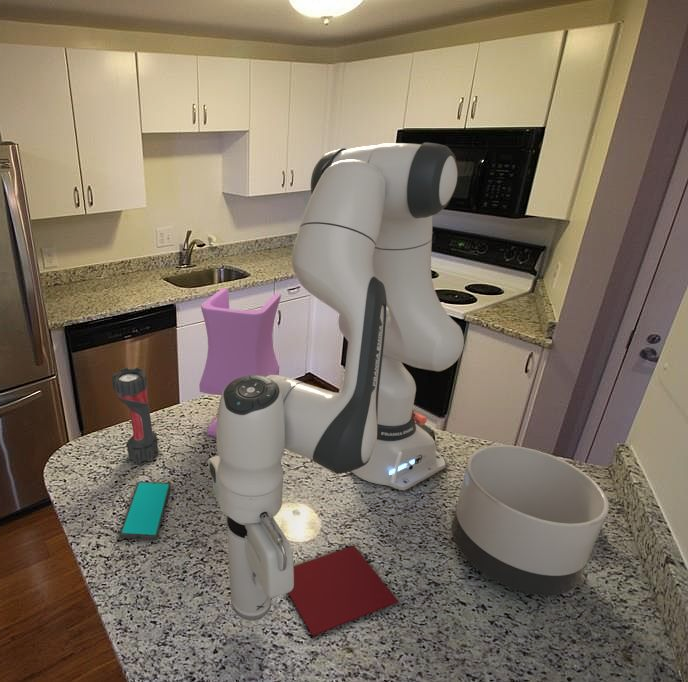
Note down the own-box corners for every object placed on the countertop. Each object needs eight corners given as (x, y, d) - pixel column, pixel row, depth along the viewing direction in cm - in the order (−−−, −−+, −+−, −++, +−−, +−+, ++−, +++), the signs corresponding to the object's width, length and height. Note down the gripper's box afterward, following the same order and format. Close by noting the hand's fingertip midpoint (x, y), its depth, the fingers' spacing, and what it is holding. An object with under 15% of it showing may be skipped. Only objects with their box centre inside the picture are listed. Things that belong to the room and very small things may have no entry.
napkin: (353, 547, 86) (354, 545, 86) (398, 602, 76) (398, 600, 76) (276, 573, 82) (276, 571, 82) (312, 636, 71) (312, 634, 71)
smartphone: (119, 534, 90) (138, 481, 103) (120, 537, 90) (138, 484, 104) (157, 537, 89) (170, 483, 102) (157, 540, 89) (171, 486, 103)
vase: (277, 416, 127) (281, 294, 113) (259, 449, 114) (261, 315, 100) (224, 405, 133) (222, 287, 119) (201, 435, 120) (195, 307, 106)
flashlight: (116, 461, 111) (104, 377, 102) (136, 443, 117) (127, 362, 108) (141, 471, 108) (132, 385, 98) (161, 453, 114) (154, 370, 104)
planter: (450, 506, 95) (467, 434, 88) (565, 539, 87) (595, 462, 79) (445, 580, 80) (466, 500, 72) (585, 629, 71) (624, 544, 64)
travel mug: (271, 624, 69) (271, 523, 61) (228, 618, 71) (222, 517, 62) (275, 588, 75) (275, 490, 67) (234, 582, 76) (229, 485, 68)
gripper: (309, 540, 55) (303, 618, 61) (241, 443, 73) (241, 510, 79) (261, 556, 54) (259, 634, 59) (204, 452, 71) (206, 520, 77)
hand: (249, 563), depth 69 cm, fingers closed on travel mug, 6 cm apart
